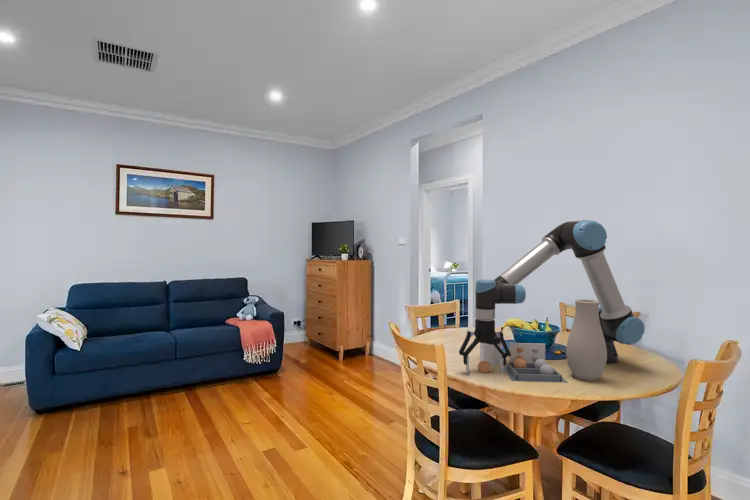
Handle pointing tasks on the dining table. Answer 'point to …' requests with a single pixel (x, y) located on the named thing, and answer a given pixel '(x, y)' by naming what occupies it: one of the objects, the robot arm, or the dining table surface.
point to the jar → (490, 352)
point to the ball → (484, 367)
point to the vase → (586, 342)
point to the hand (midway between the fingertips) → (484, 373)
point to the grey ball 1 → (539, 363)
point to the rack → (529, 364)
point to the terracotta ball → (519, 363)
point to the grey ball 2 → (546, 370)
